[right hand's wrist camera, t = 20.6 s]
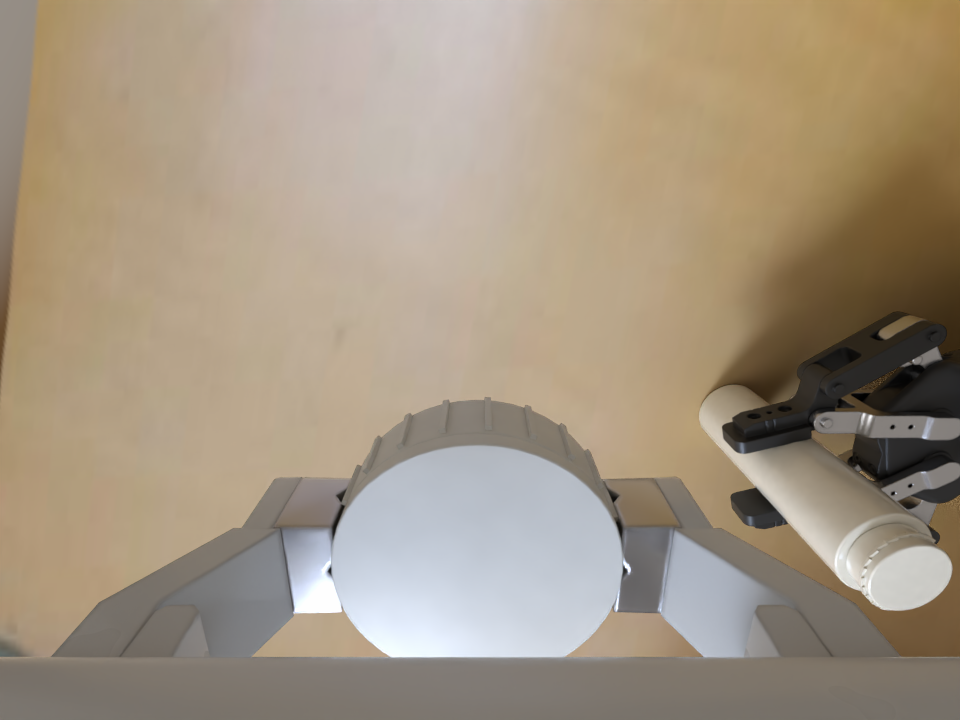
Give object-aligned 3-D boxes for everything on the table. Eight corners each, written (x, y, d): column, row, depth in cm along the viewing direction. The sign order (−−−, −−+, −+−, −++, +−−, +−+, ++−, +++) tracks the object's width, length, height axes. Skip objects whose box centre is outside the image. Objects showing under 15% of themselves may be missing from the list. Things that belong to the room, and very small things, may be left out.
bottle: (714, 377, 34) (894, 525, 19) (769, 393, 34) (985, 550, 20) (688, 430, 35) (839, 606, 21) (742, 445, 35) (926, 628, 21)
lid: (519, 645, 11) (526, 720, 10) (308, 550, 10) (278, 617, 9) (657, 472, 10) (690, 528, 8) (423, 347, 9) (412, 383, 7)
